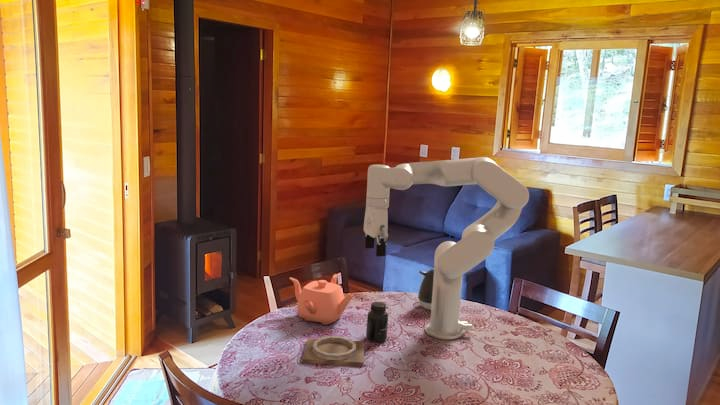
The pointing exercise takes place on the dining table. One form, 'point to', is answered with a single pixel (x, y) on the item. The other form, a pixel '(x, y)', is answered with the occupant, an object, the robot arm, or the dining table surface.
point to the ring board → (334, 351)
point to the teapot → (321, 300)
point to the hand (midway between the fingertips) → (374, 252)
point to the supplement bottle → (377, 323)
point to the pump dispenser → (426, 289)
